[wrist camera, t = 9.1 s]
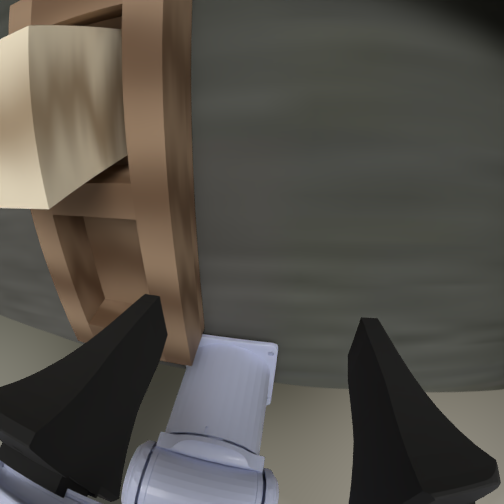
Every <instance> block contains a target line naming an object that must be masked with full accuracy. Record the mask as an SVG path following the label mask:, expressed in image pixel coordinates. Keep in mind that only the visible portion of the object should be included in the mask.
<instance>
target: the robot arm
mask: <svg viewBox="0 0 504 504" xmlns="http://www.w3.org/2000/svg"><path fill="white" fill-rule="evenodd" d="M167 335H168V333H167V329H166V324H165V319H164V315H163V310H162V305H161V300H160V296H156V295H149V294H144V295H143V296H142V297H140V298H139V299H138V300H137V301H136V302H135V303H133V304H132V305H131V306H130V307H129V308H128V309H126V310H125V311H124V312H123V313H122V314H121V315H120V316H118V317H117V318H116V319H115V320H114V321H113V322H111V323H110V324H109V325H108V326H107V327H105V328H104V329H103V330H102V331H100V332H99V333H98V334H97V335H95V336H94V337H93V338H91V339H90V340H89V341H88V342H86V343H85V344H84V345H82V346H81V347H79V348H78V349H76V350H75V351H74V352H72V353H70V354H69V355H67V356H66V357H65V358H63V359H61V360H59V361H57V362H56V363H54V364H52V365H50V366H48V367H47V368H45V369H43V370H41V371H39V372H37V373H35V374H33V375H31V376H29V377H26V378H24V379H21V380H19V381H17V382H14V383H11V384H8V385H5V386H2V387H0V440H1V441H2V442H3V443H2V445H1V447H0V504H102V503H100V502H97V501H95V500H92V499H90V498H88V497H87V495H90V496H92V497H94V498H96V497H97V496H98V497H100V498H103V499H105V500H108V501H110V502H112V501H115V500H117V499H119V494H120V487H121V480H122V473H123V468H124V463H125V458H126V453H127V449H128V445H129V441H130V437H131V433H132V429H133V426H134V422H135V419H136V415H137V412H138V410H139V407H140V404H141V402H142V400H143V397H144V395H145V393H146V390H147V388H148V386H149V384H150V382H151V379H152V377H153V374H154V372H155V370H156V368H157V365H158V363H159V361H160V359H161V356H162V352H163V349H164V346H165V342H166V339H167ZM277 354H278V345H277V344H275V343H270V342H261V341H252V340H244V339H236V338H228V337H220V336H213V335H206V334H202V337H201V340H200V343H199V346H198V349H197V352H196V355H195V358H194V361H193V364H192V366H187V365H186V371H185V374H184V377H183V380H182V383H181V386H180V389H179V391H178V394H177V397H176V400H175V403H174V406H173V409H172V413H171V416H170V418H169V421H168V425H167V427H166V431H165V432H160V435H159V438H158V441H157V442H155V441H152V440H148V441H147V442H146V443H143V444H141V445H140V446H138V448H137V449H136V451H135V453H134V455H133V457H132V459H131V461H130V464H129V467H128V470H127V473H126V476H125V480H124V484H123V489H122V497H121V501H122V504H278V497H279V487H278V482H277V479H276V478H275V476H274V475H273V472H272V471H271V470H270V469H266V468H263V467H264V459H265V457H264V456H259V452H260V446H261V439H262V431H263V424H264V417H265V409H266V405H269V404H270V403H271V397H272V390H273V383H274V376H275V369H276V361H277ZM348 384H349V394H350V403H351V412H352V423H353V437H354V448H353V468H352V480H351V491H350V498H349V504H475V501H477V500H478V499H480V498H482V497H484V496H485V495H487V494H489V493H491V492H492V491H494V490H495V489H496V488H498V487H499V485H500V483H501V482H500V477H499V471H498V466H497V462H496V460H495V459H494V458H492V457H491V456H489V455H488V454H487V453H486V452H484V451H483V450H481V449H480V448H479V447H478V446H476V445H475V444H474V443H473V442H472V441H471V440H469V439H468V438H467V437H466V436H465V435H464V434H463V433H461V432H460V431H459V430H458V429H457V428H456V427H455V426H454V425H453V424H452V423H451V422H450V421H449V420H448V419H447V418H446V416H445V415H444V414H442V412H441V411H440V410H439V409H438V408H437V407H436V405H435V404H434V403H433V402H432V400H431V399H430V398H429V397H428V396H427V394H426V393H425V392H424V390H423V389H422V388H421V386H420V385H419V383H418V382H417V381H416V379H415V378H414V376H413V375H412V373H411V372H410V370H409V369H408V367H407V366H406V364H405V363H404V361H403V360H402V358H401V356H400V355H399V353H398V352H397V350H396V348H395V347H394V345H393V343H392V342H391V340H390V338H389V337H388V335H387V333H386V332H385V330H384V328H383V326H382V325H381V323H380V321H379V320H378V319H377V318H362V317H361V320H360V323H359V326H358V328H357V331H356V334H355V337H354V340H353V343H352V346H351V348H350V351H349V354H348Z"/></svg>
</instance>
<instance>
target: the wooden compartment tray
mask: <svg viewBox="0 0 504 504" xmlns="http://www.w3.org/2000/svg"><path fill="white" fill-rule="evenodd" d="M191 23H192V0H20V1H18V2H17V3H15V4H13V5H11V6H10V14H9V35H10V34H12V33H14V32H16V31H18V30H20V29H22V28H25V27H27V26H35V25H65V26H88V27H102V28H113V29H122V83H123V104H124V119H125V132H126V144H127V154H128V155H127V156H125V157H124V158H122V159H121V160H119V161H117V162H116V163H114V164H113V165H111V166H110V167H108V168H107V169H105V170H104V171H102V172H101V173H99V174H98V175H96V176H95V177H93V178H92V179H90V180H89V181H87V182H86V183H84V184H83V185H82V186H80V187H79V188H77V189H76V190H75V191H73V192H72V193H70V194H69V195H68V196H66V197H65V198H64V199H62V200H61V201H60V202H58V203H57V204H56V205H54V206H53V207H52V208H50V209H30V210H31V214H32V217H33V221H34V225H35V228H36V231H37V235H38V238H39V241H40V245H41V248H42V251H43V254H44V257H45V260H46V263H47V266H48V268H49V271H50V274H51V277H52V279H53V282H54V285H55V287H56V290H57V293H58V295H59V298H60V300H61V303H62V305H63V307H64V310H65V312H66V315H67V317H68V319H69V321H70V324H71V326H72V328H73V330H74V333H75V335H76V337H77V339H78V341H81V342H85V343H86V342H88V341H89V340H90V339H91V338H93V337H94V336H95V335H97V334H98V333H99V332H100V331H102V330H103V329H104V328H105V327H107V326H108V325H109V324H110V323H111V322H113V321H114V320H115V319H116V318H117V317H118V316H120V315H121V314H122V313H123V312H124V311H125V310H126V309H128V308H129V307H130V306H131V305H132V304H133V303H135V302H136V301H137V300H138V299H139V298H140V297H142V296H143V295H144V294H149V295H156V296H160V300H161V305H162V310H163V315H164V319H165V324H166V329H167V333H168V335H167V339H166V342H165V346H164V349H163V352H162V356H161V359H160V360H161V361H166V362H171V363H176V364H182V365H187V366H192V364H193V361H194V358H195V355H196V352H197V349H198V346H199V343H200V340H201V337H202V334H203V331H204V328H205V327H204V317H203V307H202V296H201V285H200V273H199V260H198V247H197V233H196V217H195V199H194V179H193V155H192V121H191Z"/></svg>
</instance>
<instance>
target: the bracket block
mask: <svg viewBox="0 0 504 504" xmlns="http://www.w3.org/2000/svg"><path fill="white" fill-rule="evenodd" d="M127 155H128V154H127V144H126V132H125V119H124V104H123V83H122V29H113V28H102V27H88V26H65V25H35V26H27V27H25V28H22V29H20V30H18V31H16V32H14V33H12V34H10V35H8V36H6V37H4V38H2V39H0V208H24V209H50V208H52V207H53V206H54V205H56V204H57V203H58V202H60V201H61V200H62V199H64V198H65V197H66V196H68V195H69V194H70V193H72V192H73V191H75V190H76V189H77V188H79V187H80V186H82V185H83V184H84V183H86V182H87V181H89V180H90V179H92V178H93V177H95V176H96V175H98V174H99V173H101V172H102V171H104V170H105V169H107V168H108V167H110V166H111V165H113V164H114V163H116V162H117V161H119V160H121V159H122V158H124V157H125V156H127Z"/></svg>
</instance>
